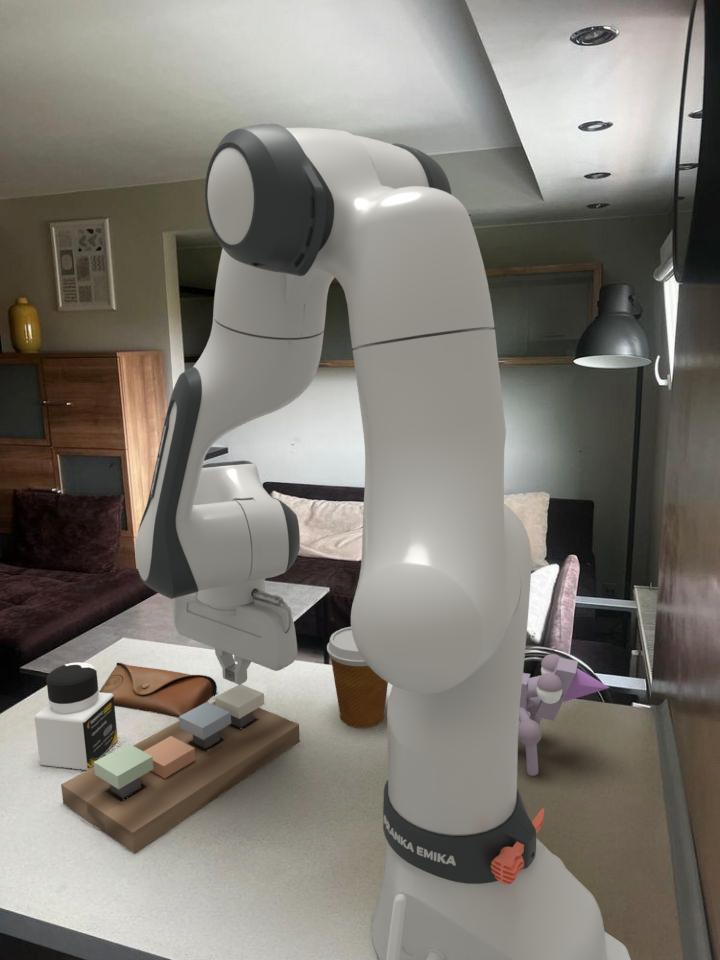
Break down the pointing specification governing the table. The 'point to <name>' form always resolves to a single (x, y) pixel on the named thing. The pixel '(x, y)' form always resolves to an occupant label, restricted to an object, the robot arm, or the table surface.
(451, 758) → the robot arm
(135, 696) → the sunglasses case
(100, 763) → the key sage
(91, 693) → the medicine bottle
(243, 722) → the key ivory
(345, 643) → the disposable coffee cup
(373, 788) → the table surface
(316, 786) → the table surface
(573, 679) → the purple toy figure
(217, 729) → the key slate
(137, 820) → the wooden board
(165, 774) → the key terracotta
